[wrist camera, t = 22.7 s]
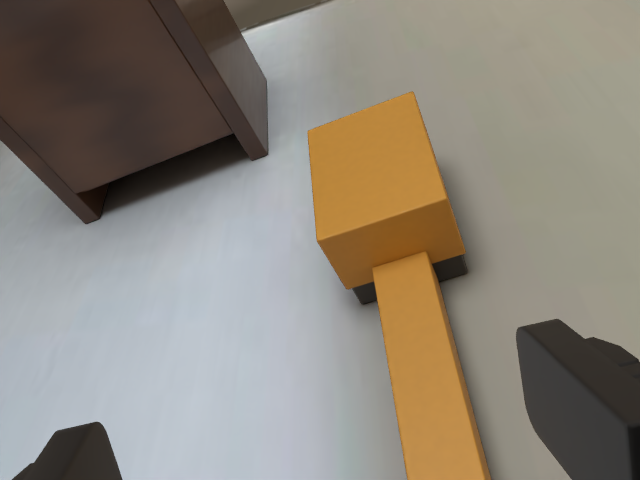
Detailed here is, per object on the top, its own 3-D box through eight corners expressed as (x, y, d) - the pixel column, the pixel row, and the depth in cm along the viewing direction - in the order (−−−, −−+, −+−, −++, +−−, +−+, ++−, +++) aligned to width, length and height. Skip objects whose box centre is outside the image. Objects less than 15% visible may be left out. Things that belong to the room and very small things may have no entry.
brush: (389, 543, 20) (337, 495, 17) (342, 199, 32) (306, 130, 29) (550, 512, 19) (529, 453, 16) (438, 166, 31) (412, 90, 28)
